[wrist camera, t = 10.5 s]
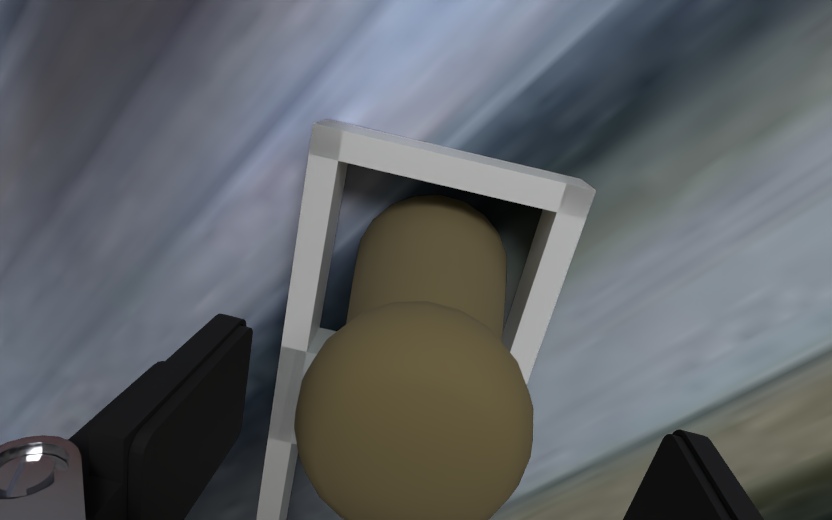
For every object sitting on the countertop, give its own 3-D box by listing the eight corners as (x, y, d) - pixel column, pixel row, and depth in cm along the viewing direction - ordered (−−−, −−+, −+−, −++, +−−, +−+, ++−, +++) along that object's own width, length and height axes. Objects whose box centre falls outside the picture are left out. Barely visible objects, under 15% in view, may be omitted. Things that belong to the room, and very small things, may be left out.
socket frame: (581, 178, 18) (596, 190, 16) (442, 582, 26) (441, 621, 24) (327, 119, 18) (313, 123, 16) (262, 541, 25) (247, 578, 24)
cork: (436, 362, 21) (421, 631, 11) (325, 272, 20) (192, 476, 10) (540, 265, 19) (640, 476, 9) (424, 161, 18) (388, 265, 8)
